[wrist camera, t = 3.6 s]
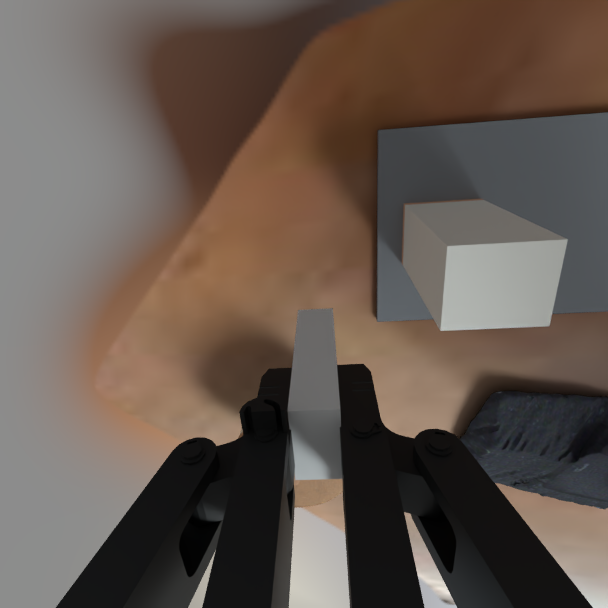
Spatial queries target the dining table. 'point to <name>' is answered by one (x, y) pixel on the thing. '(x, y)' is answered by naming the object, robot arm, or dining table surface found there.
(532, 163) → the mat
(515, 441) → the dark slate chunk
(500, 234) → the block
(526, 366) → the dining table surface
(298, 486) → the lidded jar
